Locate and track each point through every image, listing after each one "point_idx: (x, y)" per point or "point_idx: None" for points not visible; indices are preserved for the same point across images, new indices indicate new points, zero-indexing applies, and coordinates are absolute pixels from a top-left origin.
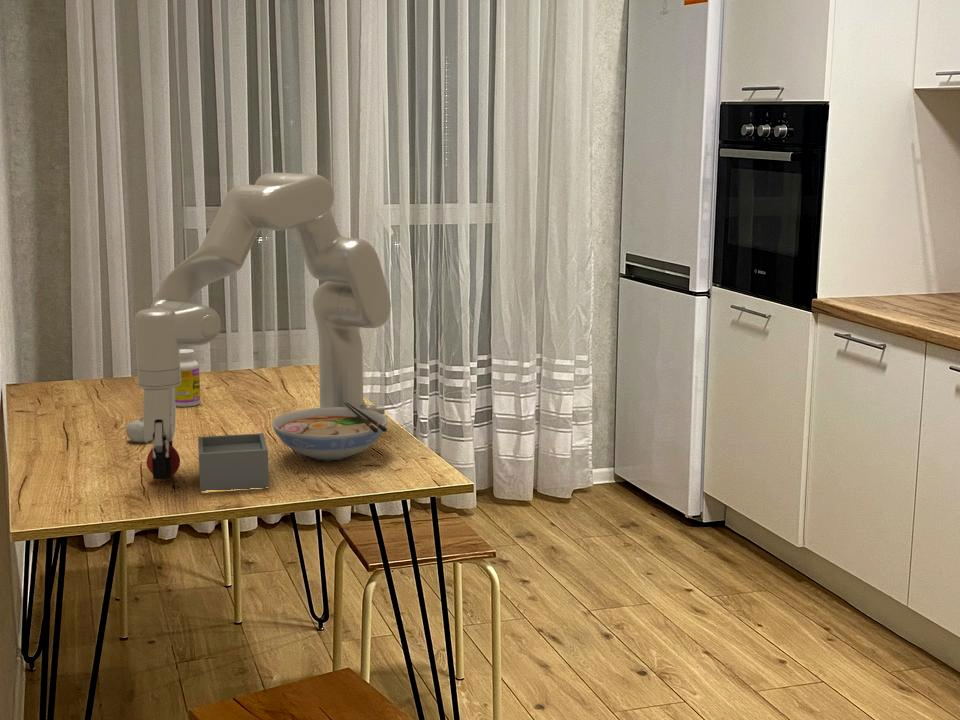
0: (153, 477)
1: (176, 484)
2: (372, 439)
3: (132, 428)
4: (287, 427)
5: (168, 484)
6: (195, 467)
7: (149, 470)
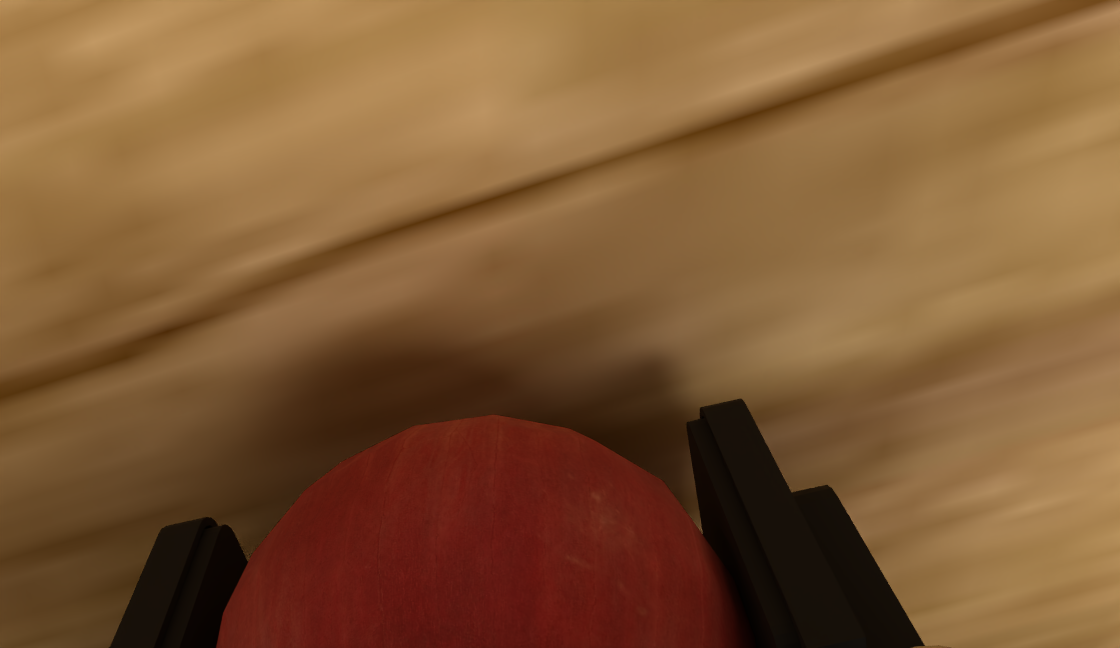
0: (159, 539)
1: None
2: None
3: None
4: None
5: None
6: (995, 611)
7: (411, 427)
